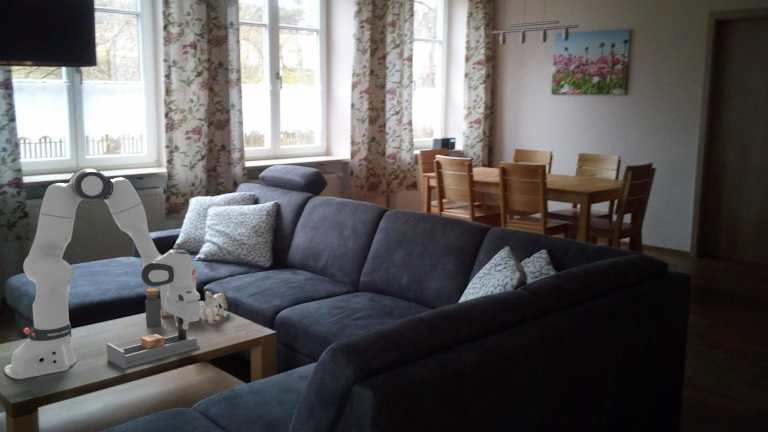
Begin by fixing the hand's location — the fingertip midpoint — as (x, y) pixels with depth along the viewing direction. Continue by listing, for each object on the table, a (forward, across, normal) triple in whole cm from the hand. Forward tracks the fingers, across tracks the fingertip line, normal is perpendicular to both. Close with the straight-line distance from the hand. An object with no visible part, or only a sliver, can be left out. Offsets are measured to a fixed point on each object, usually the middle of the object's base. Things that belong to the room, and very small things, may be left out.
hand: (182, 327), depth 264 cm
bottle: (+8, -31, +5) cm, 32 cm away
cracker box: (+8, -35, +19) cm, 40 cm away
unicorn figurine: (+8, -19, +28) cm, 35 cm away
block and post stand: (+6, 0, -7) cm, 9 cm away
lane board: (+7, 0, -12) cm, 14 cm away
